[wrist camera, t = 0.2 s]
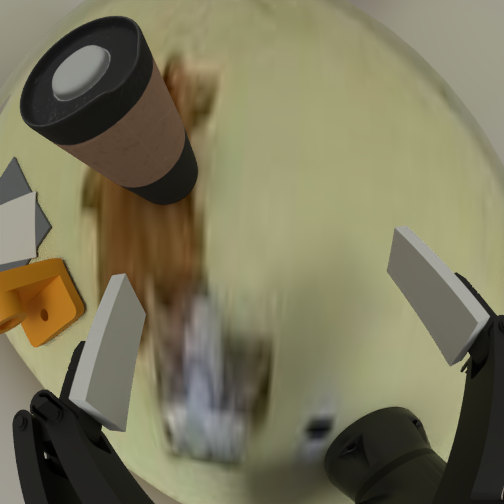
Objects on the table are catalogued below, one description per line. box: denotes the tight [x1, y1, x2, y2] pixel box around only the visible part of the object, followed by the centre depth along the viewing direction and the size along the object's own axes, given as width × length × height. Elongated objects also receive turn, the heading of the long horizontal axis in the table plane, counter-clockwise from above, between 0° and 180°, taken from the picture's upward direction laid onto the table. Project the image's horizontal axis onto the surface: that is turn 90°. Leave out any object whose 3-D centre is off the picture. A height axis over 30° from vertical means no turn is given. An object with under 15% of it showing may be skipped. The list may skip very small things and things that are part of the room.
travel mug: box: [20, 16, 198, 204], centre depth 18 cm, size 8×8×20 cm
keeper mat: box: [0, 157, 52, 272], centre depth 27 cm, size 16×17×1 cm
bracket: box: [0, 258, 84, 347], centre depth 21 cm, size 11×7×12 cm, turn 123°
